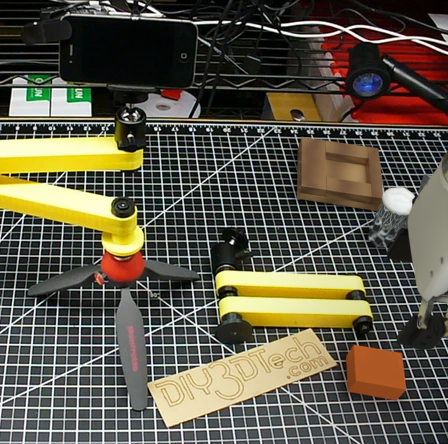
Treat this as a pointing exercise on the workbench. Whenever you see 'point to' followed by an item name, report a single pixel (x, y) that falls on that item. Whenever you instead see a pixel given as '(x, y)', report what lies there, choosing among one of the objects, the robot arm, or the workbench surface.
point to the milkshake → (390, 215)
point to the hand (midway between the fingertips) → (407, 299)
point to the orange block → (375, 372)
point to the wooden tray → (339, 174)
